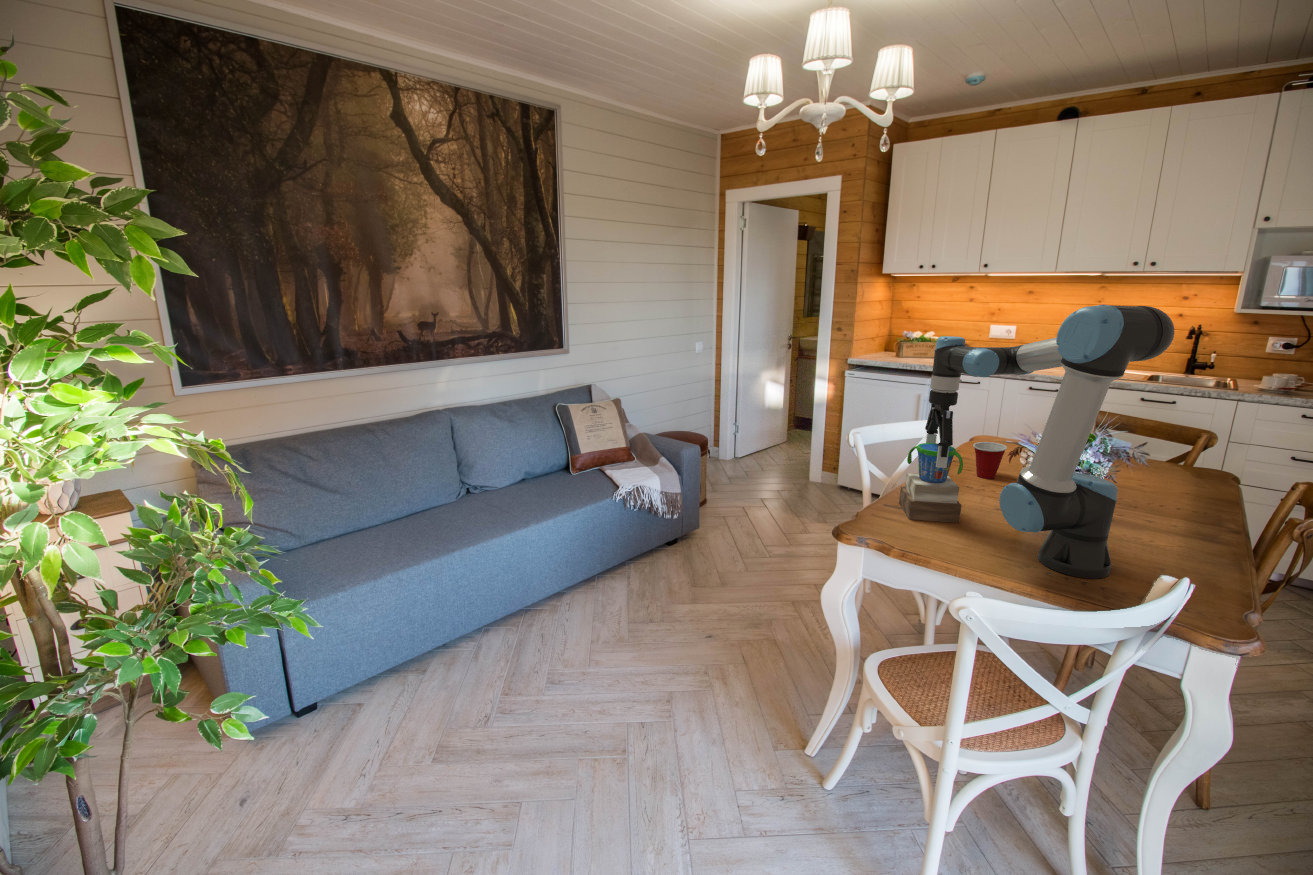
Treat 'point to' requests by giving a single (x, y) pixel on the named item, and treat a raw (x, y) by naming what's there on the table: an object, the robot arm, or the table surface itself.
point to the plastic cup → (988, 458)
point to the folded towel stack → (930, 499)
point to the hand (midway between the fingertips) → (934, 461)
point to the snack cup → (933, 462)
